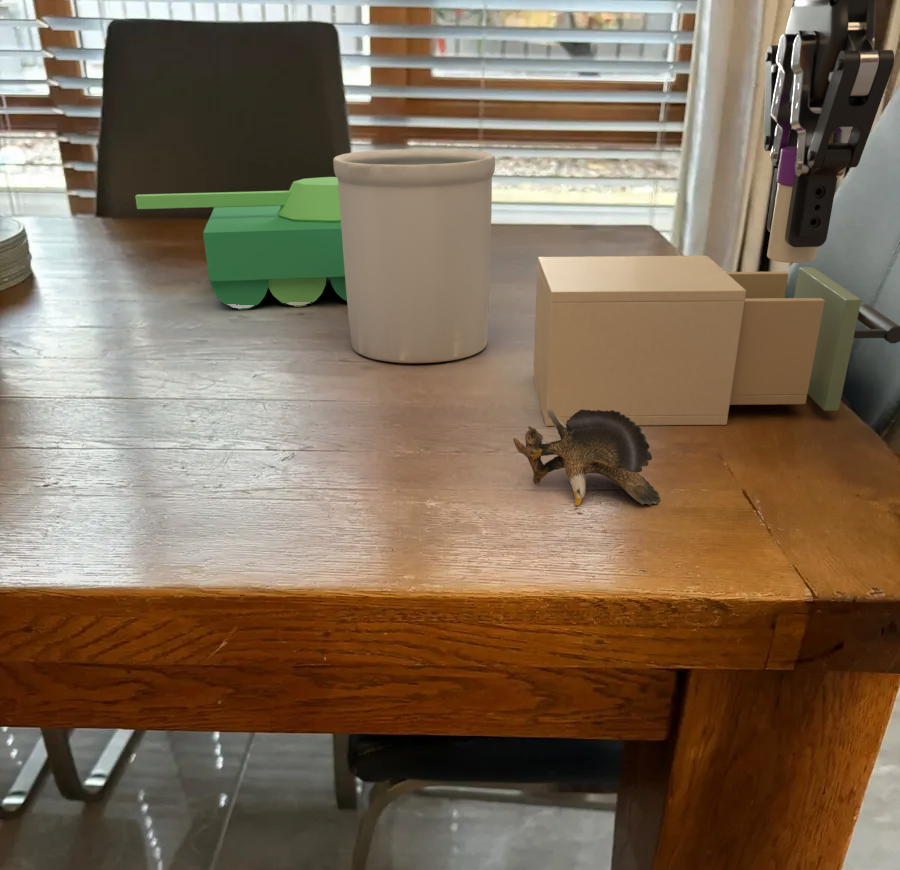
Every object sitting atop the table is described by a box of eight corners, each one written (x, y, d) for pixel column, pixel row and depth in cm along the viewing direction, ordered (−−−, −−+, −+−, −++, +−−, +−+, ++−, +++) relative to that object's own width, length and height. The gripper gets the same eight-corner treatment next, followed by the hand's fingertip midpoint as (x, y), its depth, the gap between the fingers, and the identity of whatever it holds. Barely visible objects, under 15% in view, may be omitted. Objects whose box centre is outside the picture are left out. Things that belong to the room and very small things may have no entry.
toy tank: (144, 176, 118) (432, 169, 122) (160, 281, 124) (433, 271, 128) (122, 197, 102) (452, 188, 106) (141, 315, 109) (452, 303, 113)
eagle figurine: (511, 500, 64) (651, 492, 60) (511, 392, 64) (650, 379, 61) (541, 517, 71) (667, 511, 68) (541, 420, 71) (666, 410, 68)
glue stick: (807, 251, 60) (825, 145, 57) (824, 263, 57) (844, 151, 54) (759, 252, 60) (774, 146, 57) (773, 264, 57) (790, 152, 54)
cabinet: (692, 375, 89) (707, 255, 84) (726, 424, 78) (746, 290, 73) (533, 377, 89) (537, 256, 84) (545, 426, 78) (551, 291, 73)
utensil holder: (345, 327, 104) (333, 147, 95) (483, 322, 105) (485, 144, 96) (344, 369, 92) (331, 166, 83) (502, 363, 93) (505, 163, 84)
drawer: (849, 367, 88) (870, 266, 84) (899, 410, 78) (926, 299, 74) (646, 368, 88) (655, 268, 84) (671, 412, 78) (683, 300, 74)
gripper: (994, -139, 43) (906, 264, 52) (871, -105, 55) (817, 217, 64) (825, -136, 43) (766, 267, 52) (739, -103, 55) (703, 220, 64)
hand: (794, 238), depth 58 cm, fingers closed on glue stick, 3 cm apart
